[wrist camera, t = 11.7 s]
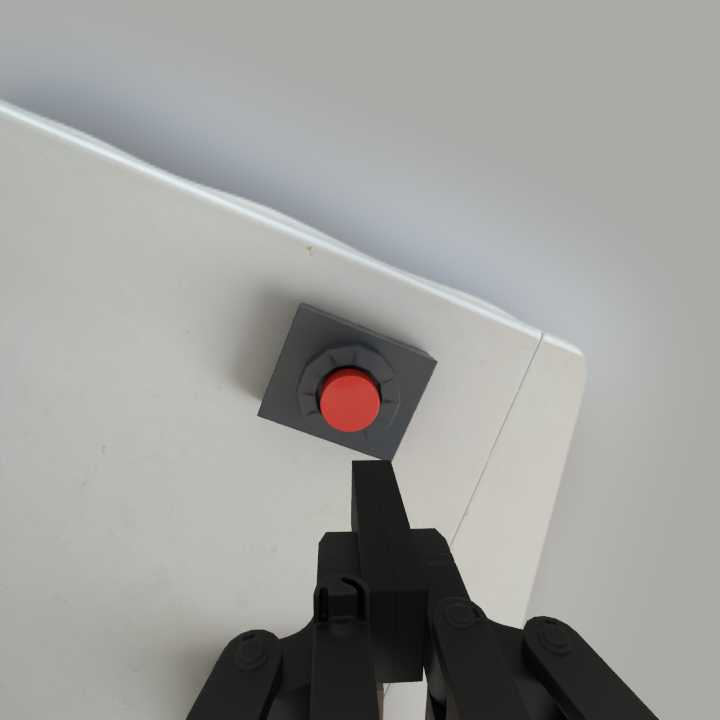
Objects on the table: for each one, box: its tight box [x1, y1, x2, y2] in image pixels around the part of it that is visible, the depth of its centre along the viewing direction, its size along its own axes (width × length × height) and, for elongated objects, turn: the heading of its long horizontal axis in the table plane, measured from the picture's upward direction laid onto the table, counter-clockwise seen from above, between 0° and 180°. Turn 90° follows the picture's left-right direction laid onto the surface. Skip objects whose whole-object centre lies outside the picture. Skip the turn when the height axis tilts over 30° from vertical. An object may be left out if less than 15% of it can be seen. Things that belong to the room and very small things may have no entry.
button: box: [320, 369, 380, 432], centre depth 26 cm, size 4×4×2 cm
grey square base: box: [257, 303, 437, 462], centre depth 28 cm, size 10×8×4 cm
